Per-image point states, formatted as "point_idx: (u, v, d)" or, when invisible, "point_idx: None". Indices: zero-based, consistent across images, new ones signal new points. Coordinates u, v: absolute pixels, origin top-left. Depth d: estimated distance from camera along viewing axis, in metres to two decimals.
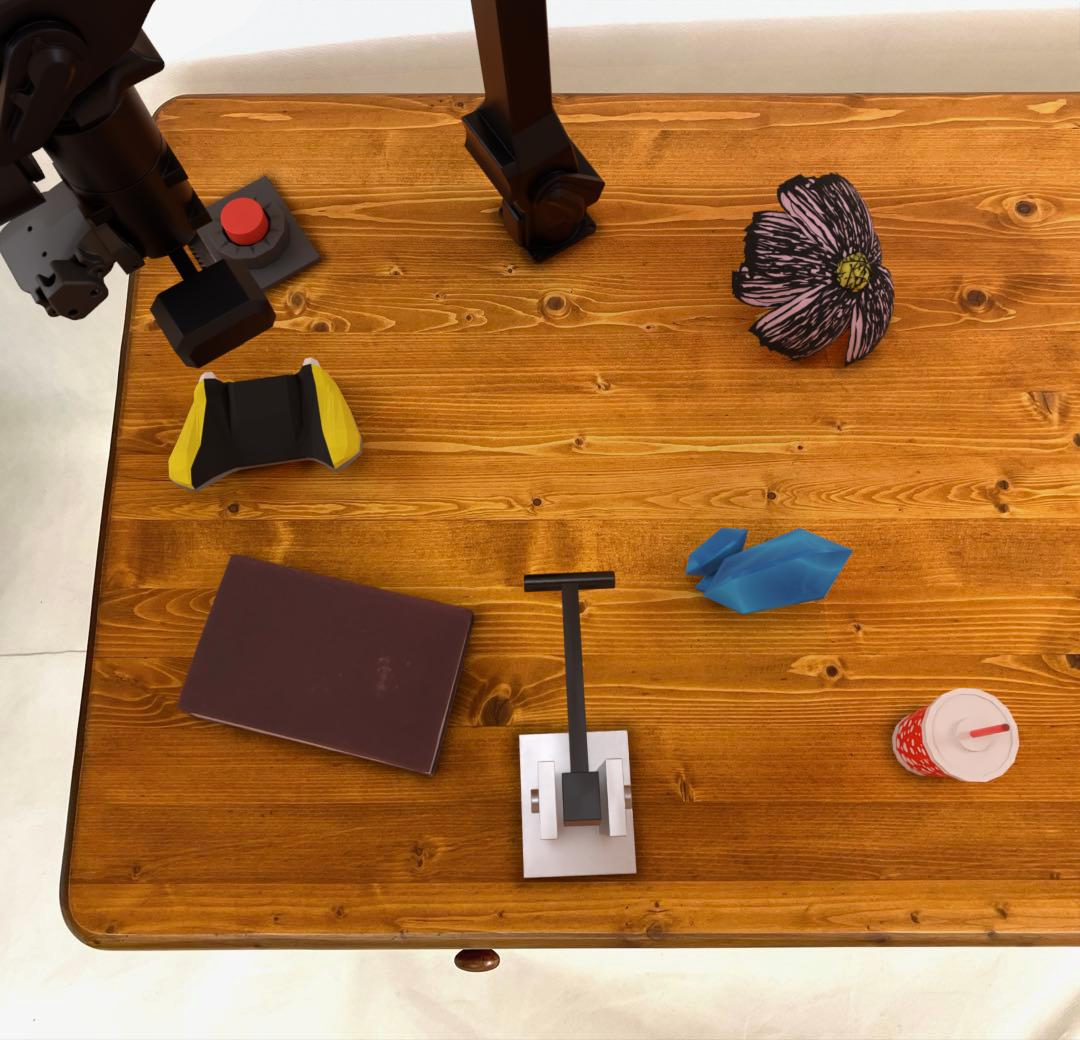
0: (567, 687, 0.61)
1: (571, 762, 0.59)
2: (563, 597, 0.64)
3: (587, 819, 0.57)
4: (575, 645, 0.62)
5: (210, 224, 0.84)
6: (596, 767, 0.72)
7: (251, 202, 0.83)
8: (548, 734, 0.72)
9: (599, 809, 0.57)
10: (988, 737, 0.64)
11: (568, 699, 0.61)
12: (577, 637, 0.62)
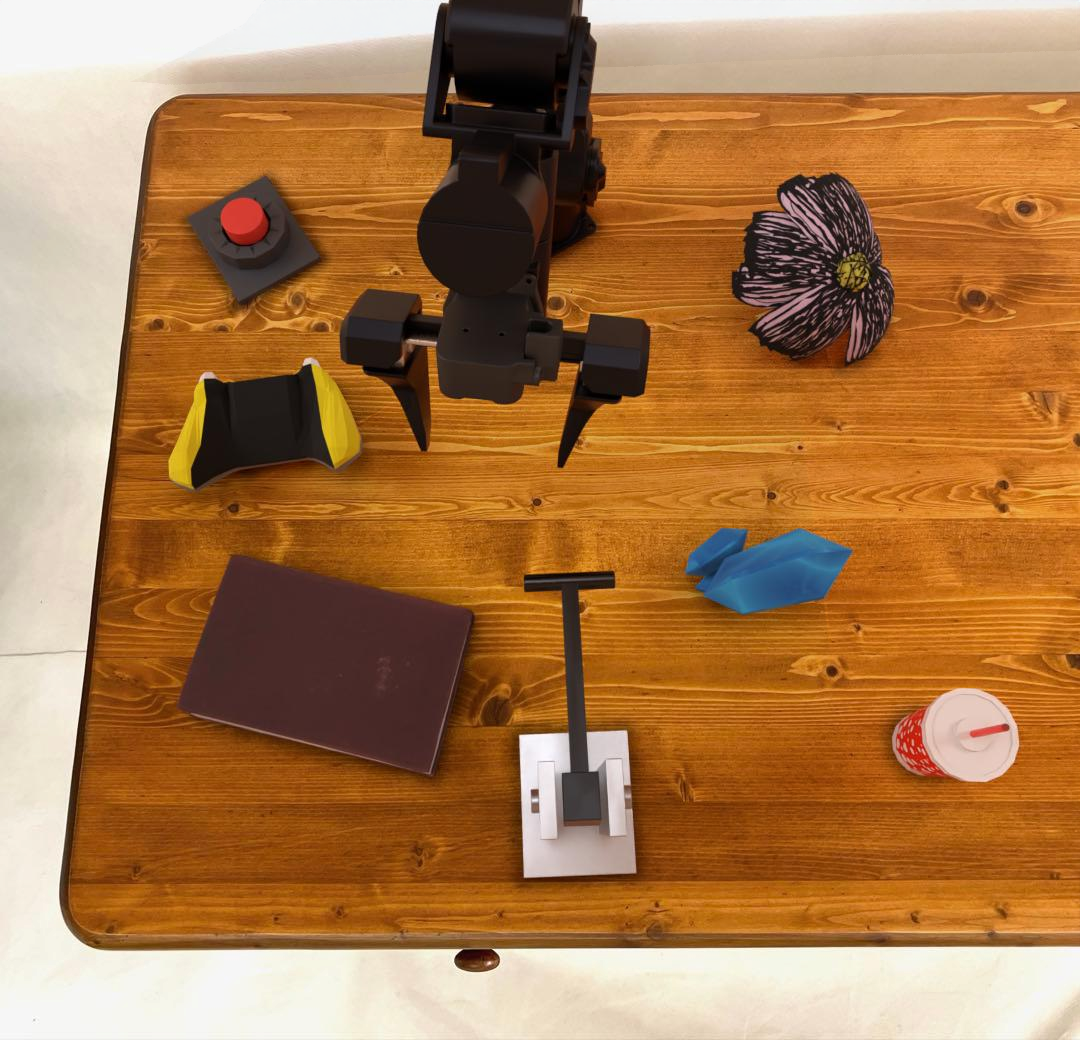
0: (567, 687, 0.61)
1: (571, 762, 0.59)
2: (563, 597, 0.64)
3: (587, 819, 0.57)
4: (575, 645, 0.62)
5: (210, 224, 0.84)
6: (596, 767, 0.72)
7: (251, 202, 0.83)
8: (548, 734, 0.72)
9: (599, 809, 0.57)
10: (988, 737, 0.64)
11: (568, 699, 0.61)
12: (577, 637, 0.62)
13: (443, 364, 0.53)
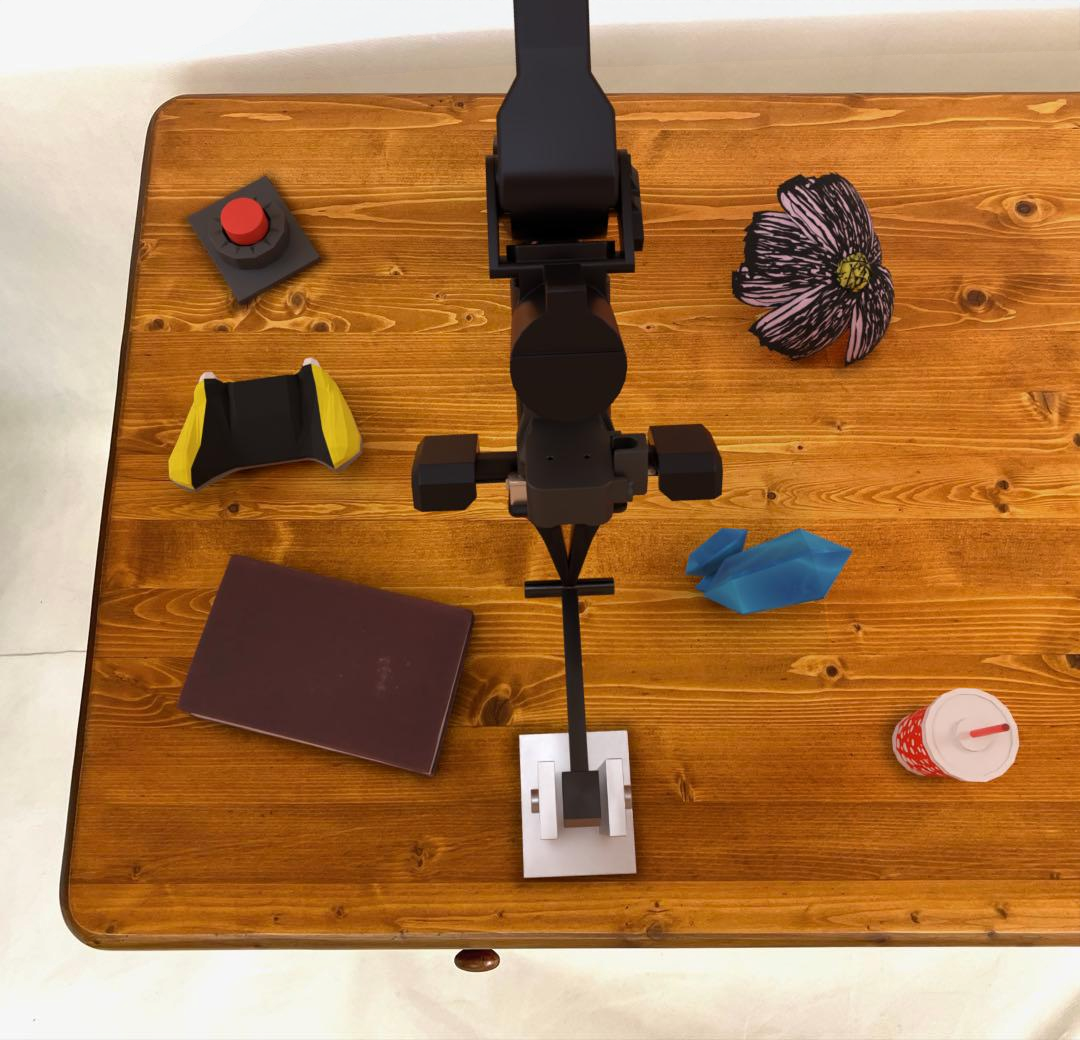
0: (567, 689, 0.61)
1: (571, 762, 0.59)
2: (563, 602, 0.64)
3: (587, 817, 0.57)
4: (575, 649, 0.63)
5: (210, 224, 0.84)
6: (596, 767, 0.72)
7: (251, 202, 0.83)
8: (548, 734, 0.72)
9: (599, 807, 0.57)
10: (988, 737, 0.64)
11: (568, 701, 0.61)
12: (577, 640, 0.63)
13: (536, 494, 0.53)
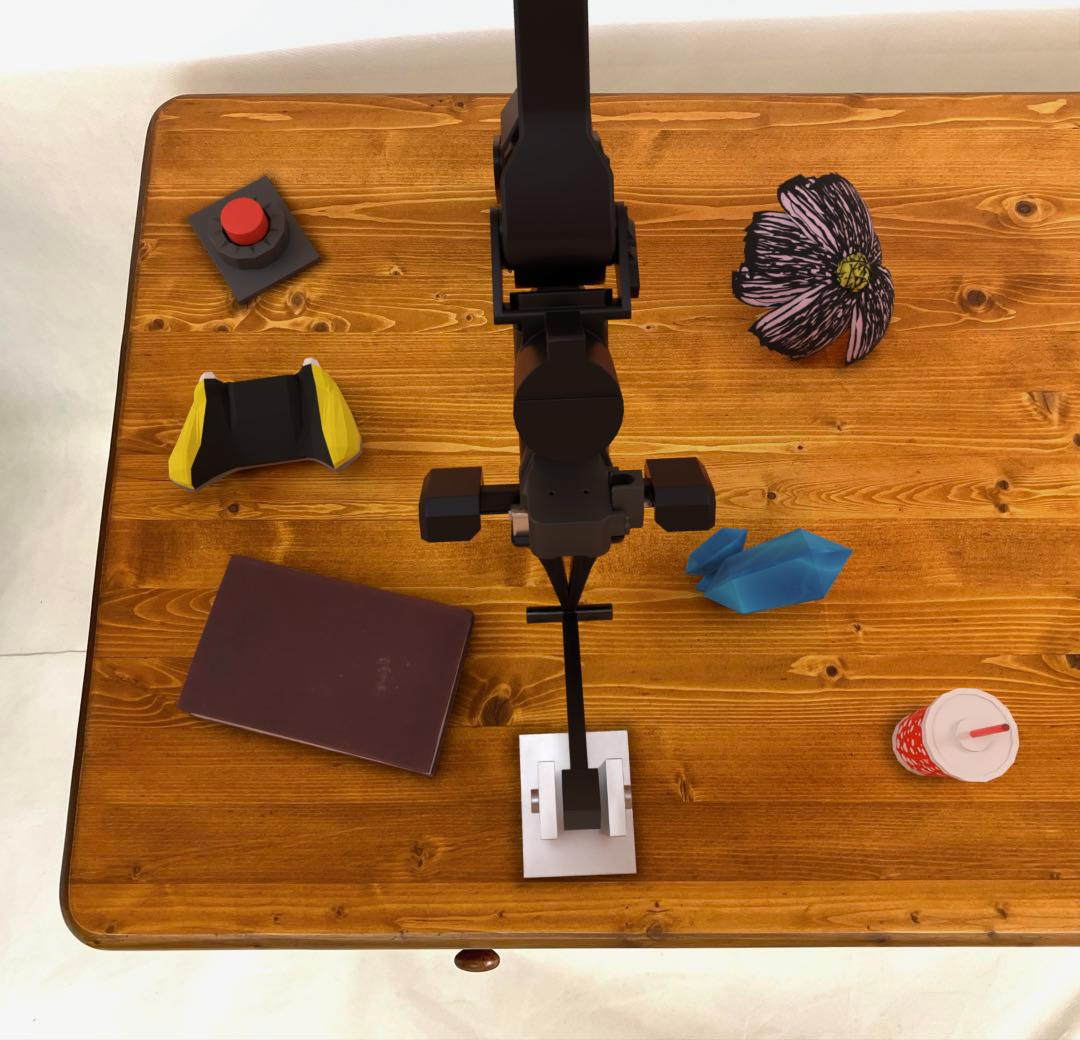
0: (567, 699, 0.63)
1: (571, 763, 0.60)
2: (563, 624, 0.67)
3: (587, 810, 0.57)
4: (574, 663, 0.65)
5: (210, 224, 0.84)
6: (596, 767, 0.72)
7: (251, 202, 0.83)
8: (548, 734, 0.72)
9: (599, 801, 0.57)
10: (988, 737, 0.64)
11: (568, 709, 0.62)
12: (577, 656, 0.65)
13: (538, 528, 0.55)
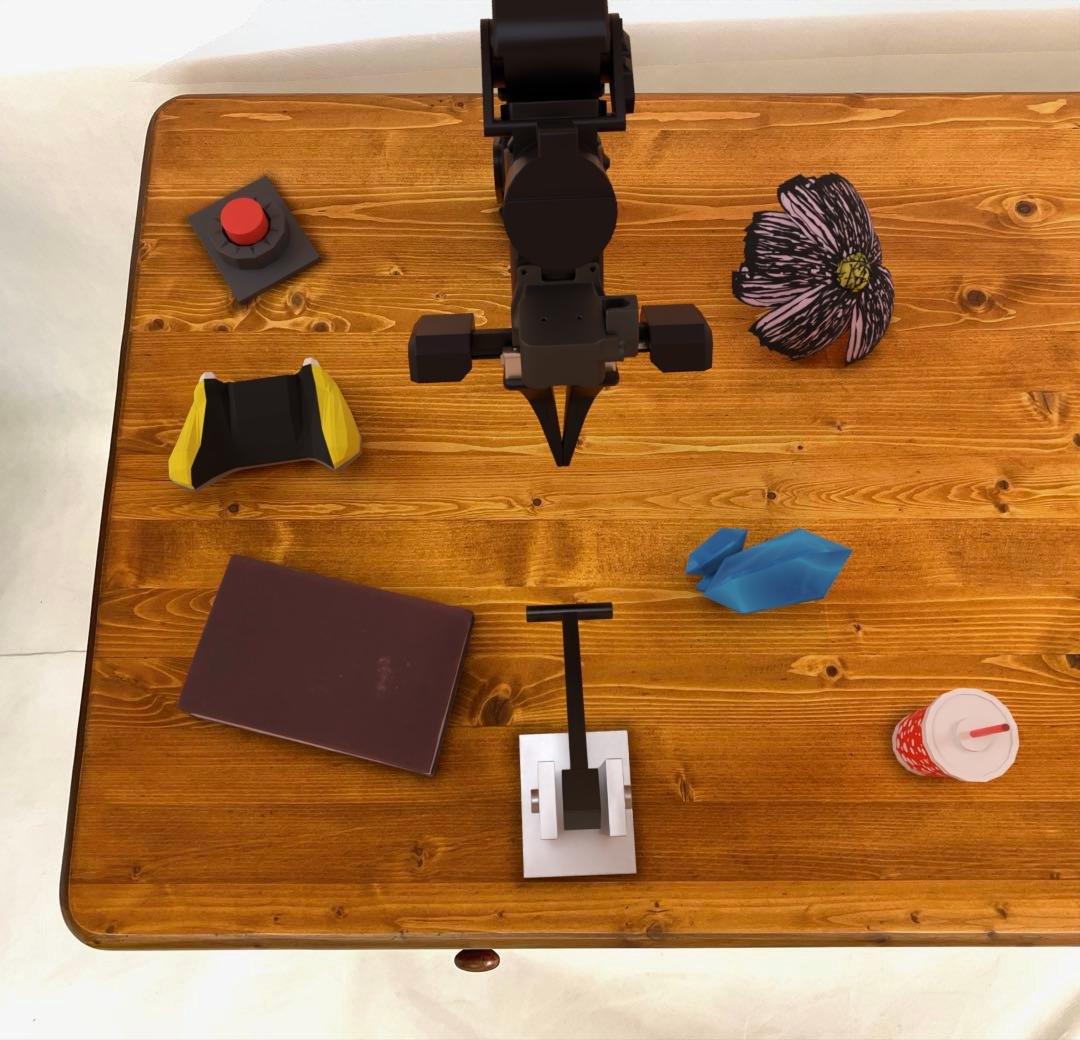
0: (567, 698, 0.63)
1: (571, 763, 0.60)
2: (563, 623, 0.67)
3: (587, 811, 0.57)
4: (574, 663, 0.65)
5: (210, 224, 0.84)
6: (596, 767, 0.72)
7: (251, 202, 0.83)
8: (548, 734, 0.72)
9: (599, 801, 0.57)
10: (988, 737, 0.64)
11: (568, 708, 0.62)
12: (577, 656, 0.65)
13: (529, 352, 0.54)
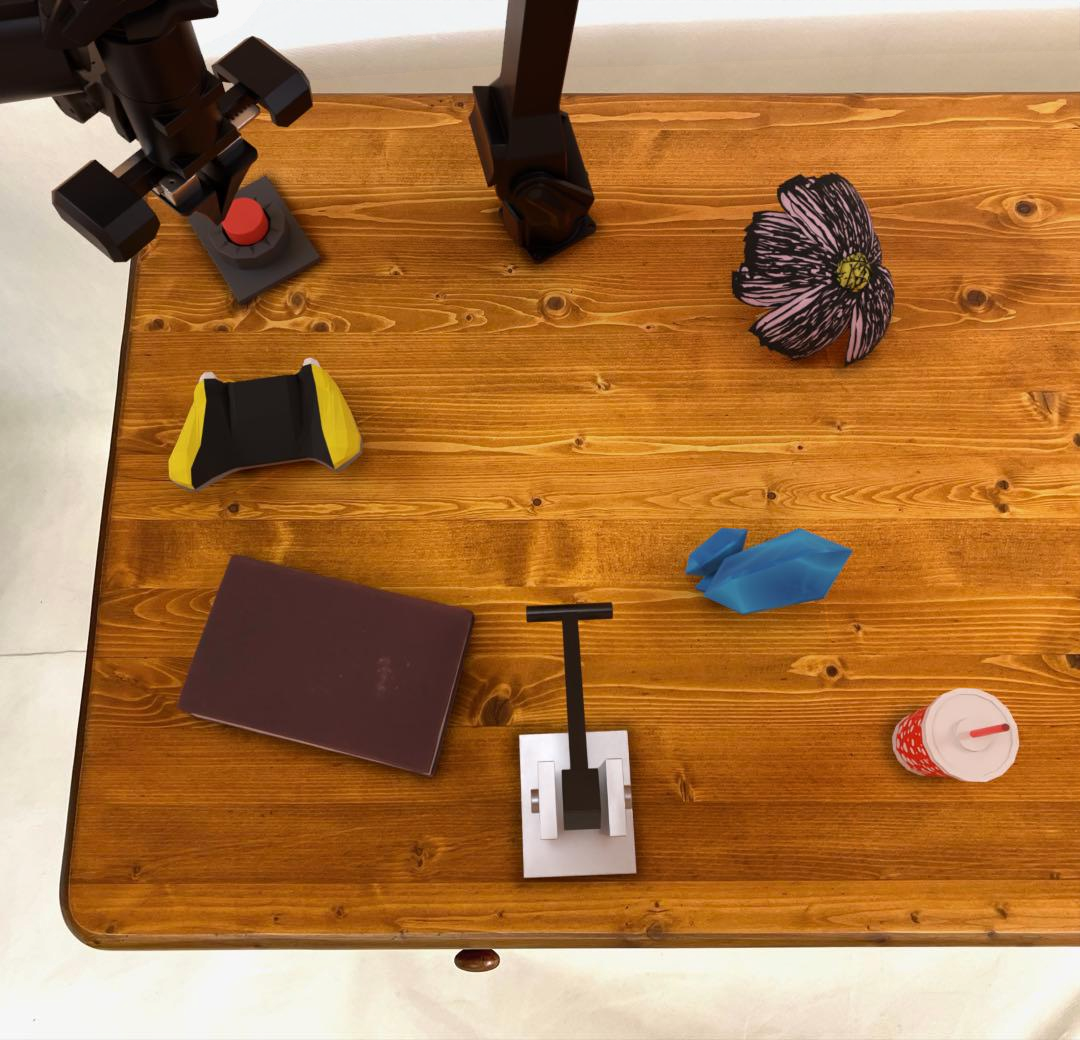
0: (567, 698, 0.63)
1: (571, 763, 0.60)
2: (563, 623, 0.67)
3: (587, 811, 0.57)
4: (574, 663, 0.65)
5: (210, 224, 0.84)
6: (596, 767, 0.72)
7: (251, 202, 0.83)
8: (548, 734, 0.72)
9: (599, 801, 0.57)
10: (988, 737, 0.64)
11: (568, 708, 0.62)
12: (577, 656, 0.65)
13: None
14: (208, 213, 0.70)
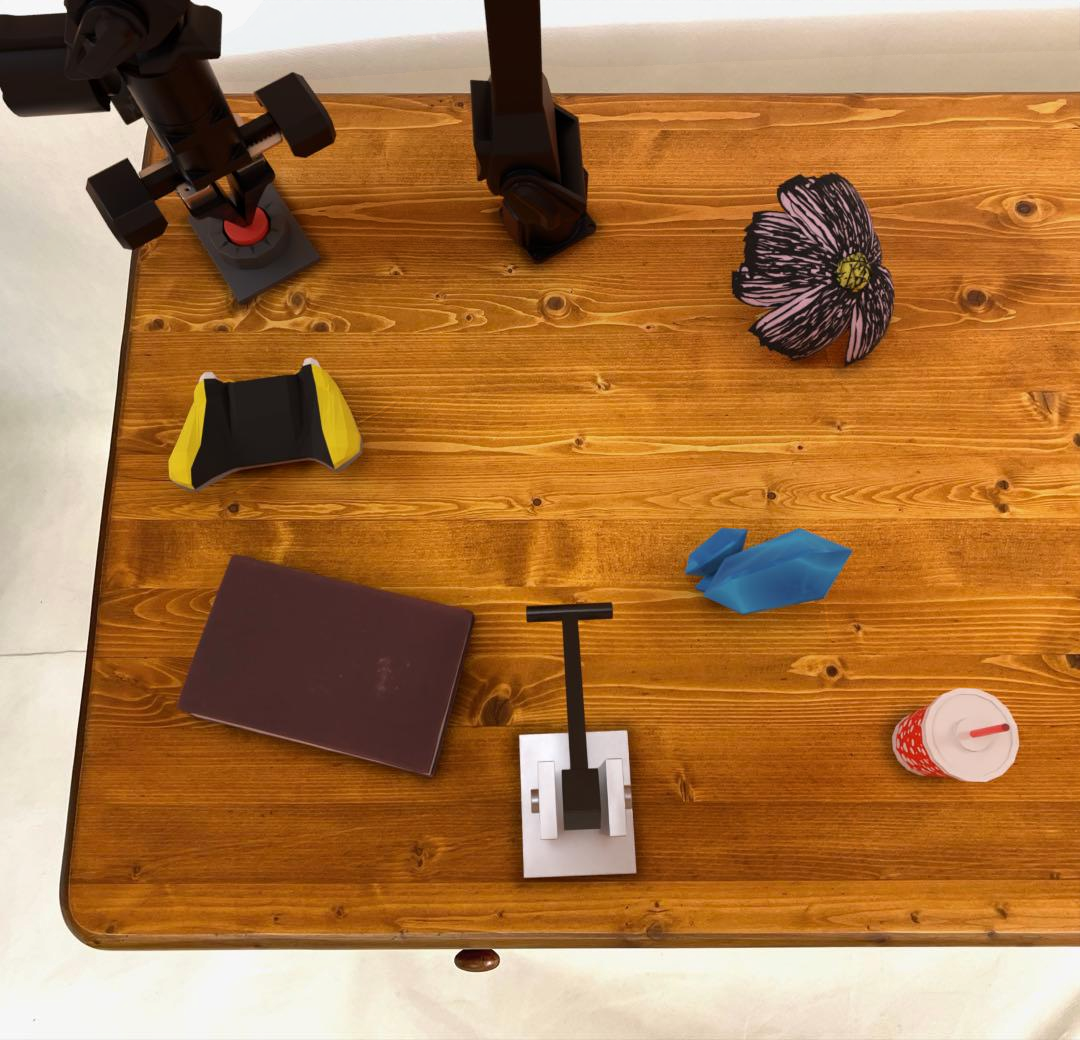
0: (567, 698, 0.63)
1: (571, 763, 0.60)
2: (563, 623, 0.67)
3: (587, 811, 0.57)
4: (574, 663, 0.65)
5: (210, 224, 0.84)
6: (596, 767, 0.72)
7: None
8: (548, 734, 0.72)
9: (599, 801, 0.57)
10: (988, 737, 0.64)
11: (568, 708, 0.62)
12: (577, 656, 0.65)
13: None
14: (226, 218, 0.79)
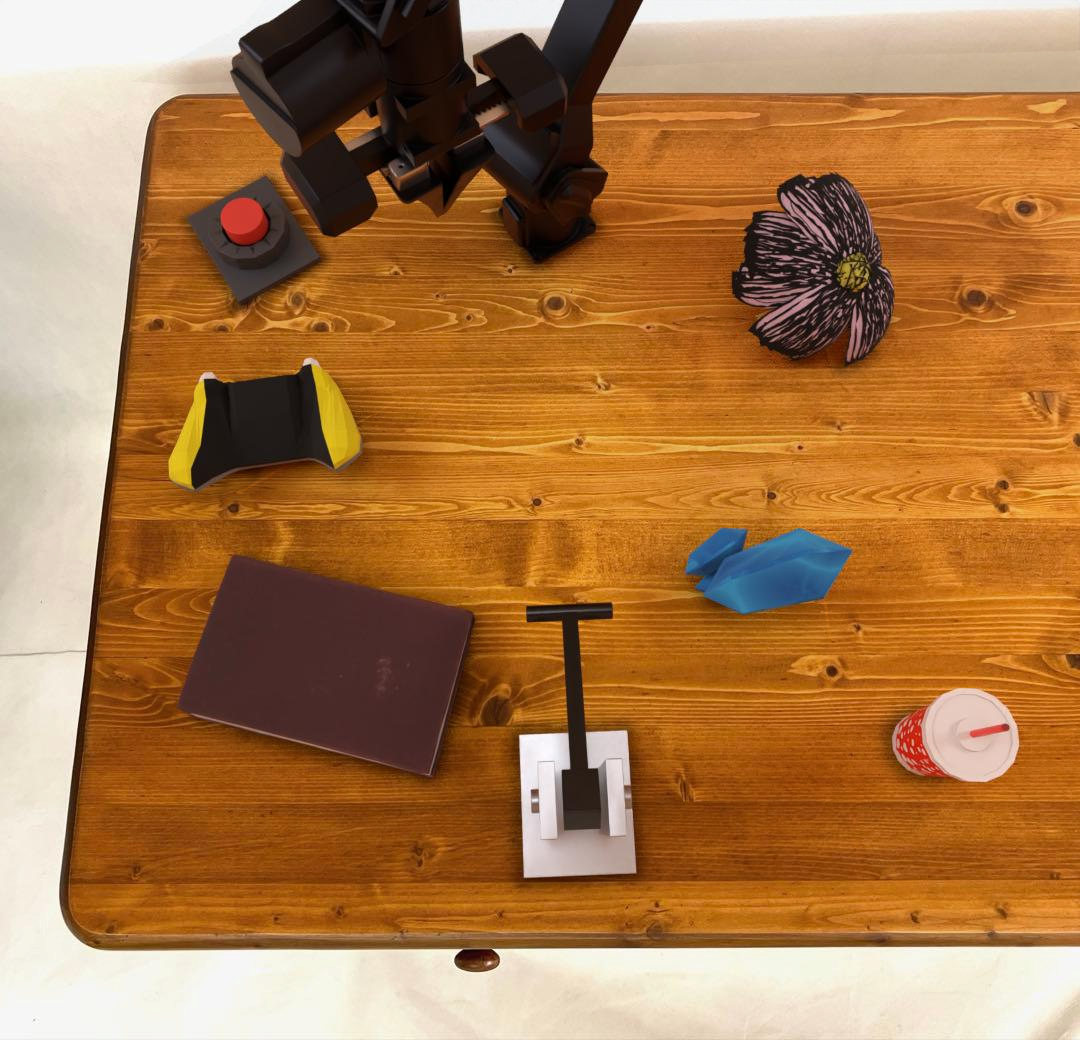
0: (567, 698, 0.63)
1: (571, 763, 0.60)
2: (563, 623, 0.67)
3: (587, 811, 0.57)
4: (574, 663, 0.65)
5: (210, 224, 0.84)
6: (596, 767, 0.72)
7: (251, 202, 0.83)
8: (548, 734, 0.72)
9: (599, 801, 0.57)
10: (988, 737, 0.64)
11: (568, 708, 0.62)
12: (577, 656, 0.65)
13: None
14: (430, 204, 0.67)
